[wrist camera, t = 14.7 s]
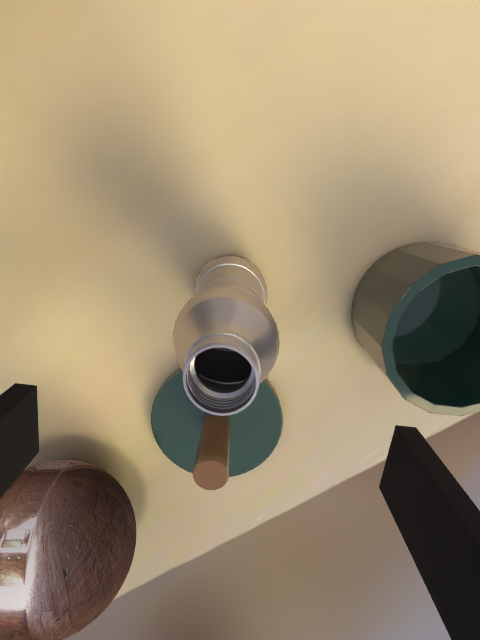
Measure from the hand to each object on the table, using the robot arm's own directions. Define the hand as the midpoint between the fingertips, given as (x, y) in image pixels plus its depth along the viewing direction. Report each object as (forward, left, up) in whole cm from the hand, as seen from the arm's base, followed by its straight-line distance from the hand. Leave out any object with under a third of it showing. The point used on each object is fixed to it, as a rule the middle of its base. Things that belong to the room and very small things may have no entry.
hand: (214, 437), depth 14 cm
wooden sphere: (+25, -14, -24) cm, 37 cm away
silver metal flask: (0, 0, -24) cm, 24 cm away
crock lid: (+14, 0, -23) cm, 27 cm away
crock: (0, +18, -24) cm, 30 cm away
